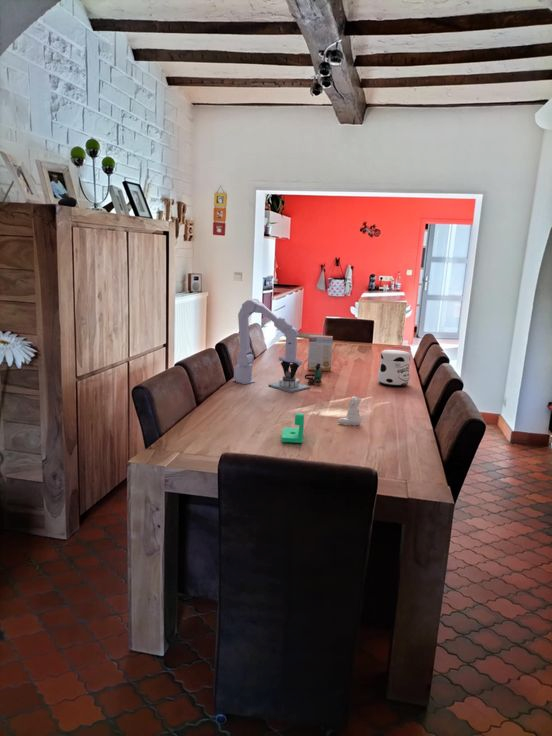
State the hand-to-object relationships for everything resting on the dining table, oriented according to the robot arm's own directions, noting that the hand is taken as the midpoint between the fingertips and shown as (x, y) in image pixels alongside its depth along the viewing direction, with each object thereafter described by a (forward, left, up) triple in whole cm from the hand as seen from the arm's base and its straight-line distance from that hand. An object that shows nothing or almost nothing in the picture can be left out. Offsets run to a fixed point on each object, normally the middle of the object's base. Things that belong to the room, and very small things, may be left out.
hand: (289, 376), depth 279 cm
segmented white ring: (0, 0, -6) cm, 6 cm away
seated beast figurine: (+57, -23, -6) cm, 62 cm away
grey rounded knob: (0, 0, -4) cm, 5 cm away
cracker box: (-17, +45, -6) cm, 48 cm away
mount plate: (0, 0, -6) cm, 6 cm away
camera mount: (+54, -56, -6) cm, 78 cm away
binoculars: (+2, +17, -6) cm, 18 cm away
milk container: (+30, +52, -6) cm, 60 cm away
